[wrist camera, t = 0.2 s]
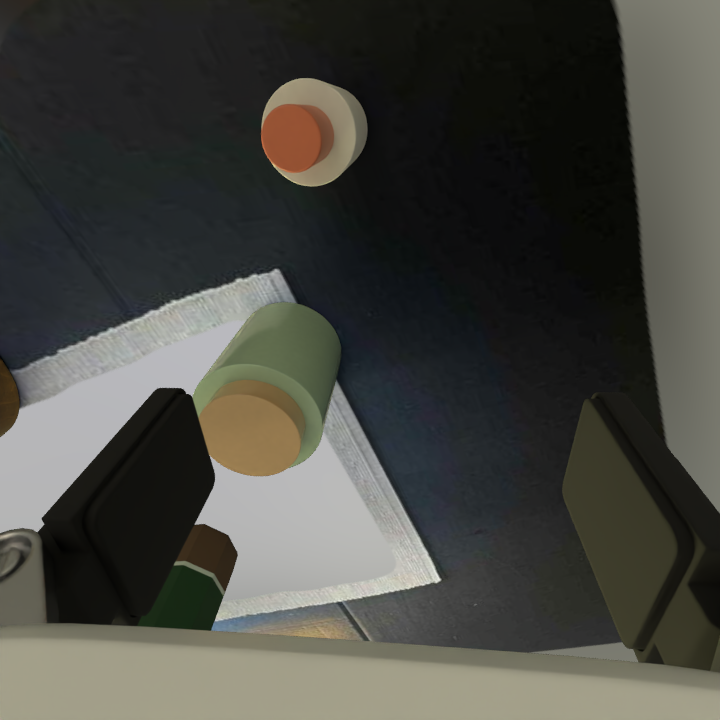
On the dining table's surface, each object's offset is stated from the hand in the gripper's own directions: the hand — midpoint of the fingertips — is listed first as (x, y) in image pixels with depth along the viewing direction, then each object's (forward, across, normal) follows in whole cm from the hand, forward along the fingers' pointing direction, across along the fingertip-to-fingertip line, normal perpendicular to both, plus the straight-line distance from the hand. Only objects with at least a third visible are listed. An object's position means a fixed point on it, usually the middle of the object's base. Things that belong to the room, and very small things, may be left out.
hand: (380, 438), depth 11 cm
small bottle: (+21, +4, -6) cm, 22 cm away
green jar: (+21, +8, +9) cm, 24 cm away
